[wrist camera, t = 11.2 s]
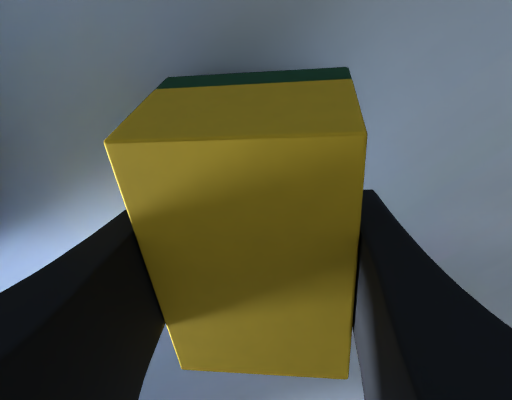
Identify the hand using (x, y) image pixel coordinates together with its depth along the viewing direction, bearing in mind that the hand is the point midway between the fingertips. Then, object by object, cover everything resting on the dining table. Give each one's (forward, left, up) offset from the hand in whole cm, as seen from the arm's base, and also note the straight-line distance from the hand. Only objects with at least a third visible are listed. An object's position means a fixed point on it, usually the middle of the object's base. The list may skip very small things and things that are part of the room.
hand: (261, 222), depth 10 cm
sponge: (0, 0, -1) cm, 1 cm away
